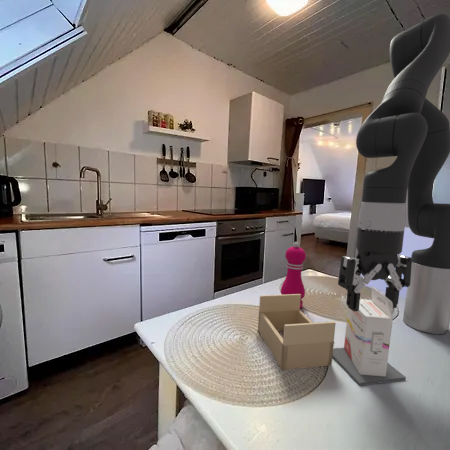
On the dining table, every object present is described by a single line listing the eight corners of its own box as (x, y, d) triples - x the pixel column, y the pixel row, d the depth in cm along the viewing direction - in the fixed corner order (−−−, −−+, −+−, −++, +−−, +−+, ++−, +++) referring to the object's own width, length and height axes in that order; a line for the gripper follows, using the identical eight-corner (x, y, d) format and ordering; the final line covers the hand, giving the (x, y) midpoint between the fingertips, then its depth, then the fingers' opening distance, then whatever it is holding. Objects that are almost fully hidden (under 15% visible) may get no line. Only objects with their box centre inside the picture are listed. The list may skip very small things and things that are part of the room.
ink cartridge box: (342, 348, 56) (348, 284, 54) (365, 350, 55) (373, 285, 53) (359, 375, 47) (367, 300, 45) (387, 378, 47) (396, 302, 45)
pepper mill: (275, 301, 80) (279, 239, 78) (295, 299, 82) (299, 239, 80) (287, 311, 73) (292, 244, 71) (308, 309, 76) (314, 244, 73)
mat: (366, 347, 57) (366, 345, 57) (405, 379, 47) (406, 377, 47) (326, 351, 55) (326, 349, 55) (359, 385, 45) (359, 382, 45)
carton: (297, 327, 65) (299, 293, 64) (331, 365, 50) (335, 322, 49) (257, 330, 62) (260, 295, 61) (282, 370, 48) (285, 326, 47)
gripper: (394, 224, 53) (386, 298, 54) (334, 224, 50) (328, 302, 52) (430, 229, 45) (419, 314, 47) (362, 229, 42) (353, 320, 44)
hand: (371, 308), depth 49 cm, fingers open, 8 cm apart
